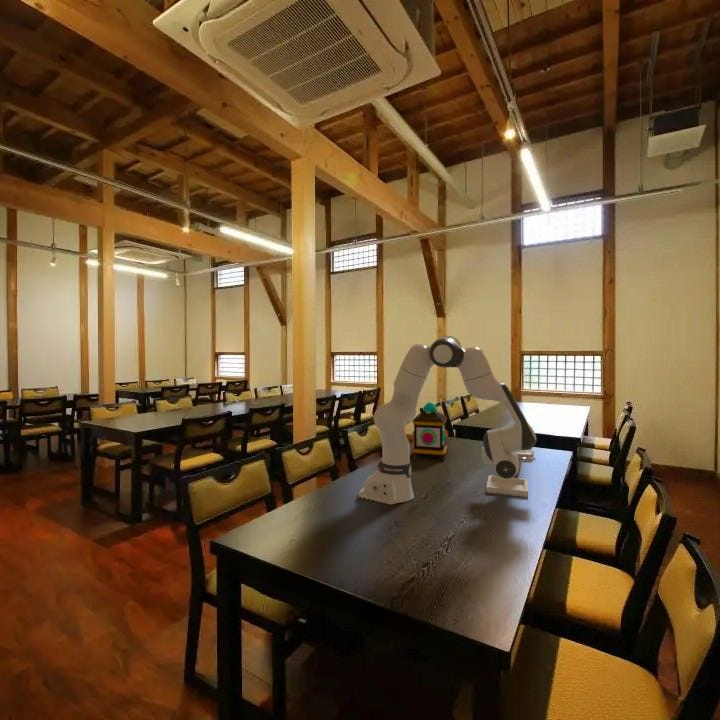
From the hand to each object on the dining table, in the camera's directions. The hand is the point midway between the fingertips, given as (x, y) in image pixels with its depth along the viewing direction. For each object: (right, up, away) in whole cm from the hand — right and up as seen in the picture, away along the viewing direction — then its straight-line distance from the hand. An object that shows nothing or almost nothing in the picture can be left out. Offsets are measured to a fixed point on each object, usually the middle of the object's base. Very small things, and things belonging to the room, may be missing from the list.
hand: (507, 449), depth 173 cm
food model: (+7, -16, +16) cm, 24 cm away
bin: (0, -17, 0) cm, 17 cm away
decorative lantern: (-24, -15, +52) cm, 59 cm away
